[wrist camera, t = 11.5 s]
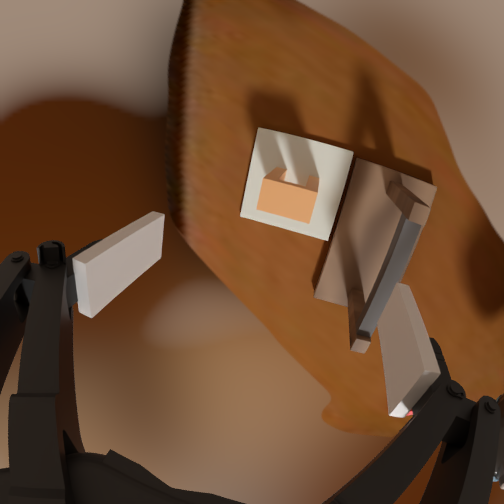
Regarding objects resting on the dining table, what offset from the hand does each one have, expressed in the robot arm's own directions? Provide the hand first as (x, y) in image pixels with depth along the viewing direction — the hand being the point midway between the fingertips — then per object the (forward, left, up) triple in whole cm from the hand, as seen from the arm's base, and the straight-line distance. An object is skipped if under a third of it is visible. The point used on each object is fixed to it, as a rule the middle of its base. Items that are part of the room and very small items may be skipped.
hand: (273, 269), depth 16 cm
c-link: (+1, 0, -20) cm, 20 cm away
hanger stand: (-10, +4, -21) cm, 23 cm away
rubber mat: (+1, 0, -21) cm, 21 cm away
